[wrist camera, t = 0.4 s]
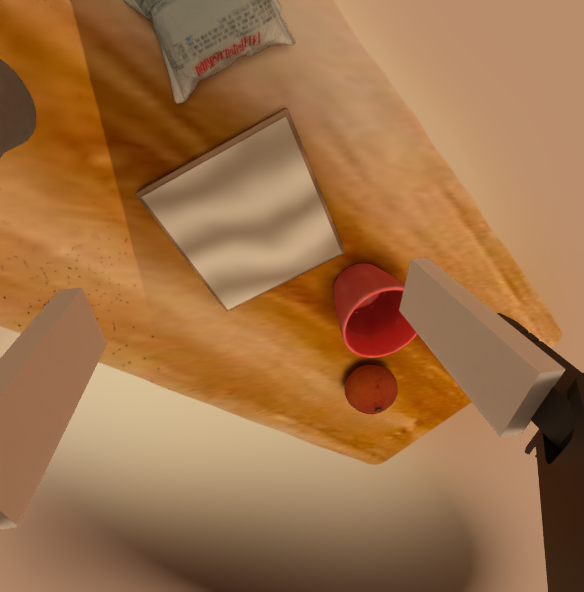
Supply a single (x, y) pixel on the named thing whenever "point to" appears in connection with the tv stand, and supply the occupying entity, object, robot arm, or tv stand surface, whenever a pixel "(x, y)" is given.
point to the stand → (247, 212)
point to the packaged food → (211, 35)
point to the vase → (14, 110)
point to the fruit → (371, 389)
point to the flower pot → (371, 311)
